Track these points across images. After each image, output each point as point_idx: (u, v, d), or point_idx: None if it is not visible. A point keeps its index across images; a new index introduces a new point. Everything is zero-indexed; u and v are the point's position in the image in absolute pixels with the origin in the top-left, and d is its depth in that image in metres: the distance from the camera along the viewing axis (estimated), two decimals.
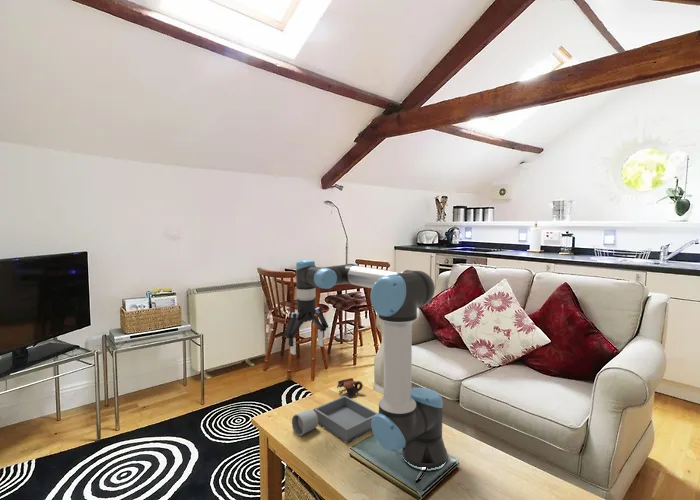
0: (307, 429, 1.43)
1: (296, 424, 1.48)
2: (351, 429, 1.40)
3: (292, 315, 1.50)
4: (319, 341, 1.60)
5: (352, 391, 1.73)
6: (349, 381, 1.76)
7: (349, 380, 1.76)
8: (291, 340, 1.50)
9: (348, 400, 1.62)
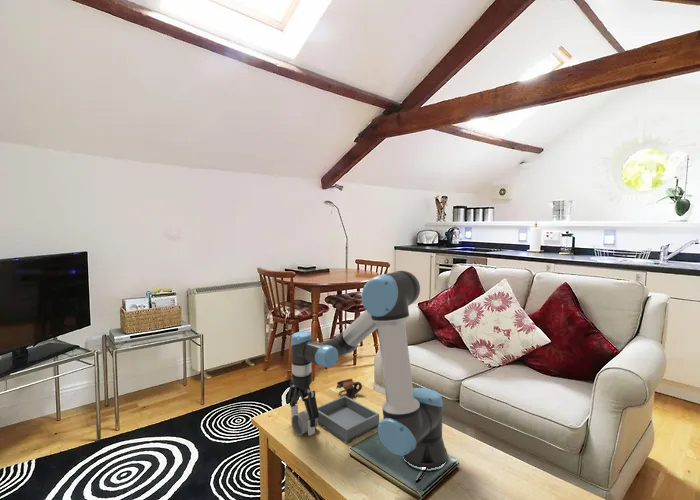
0: (306, 429, 1.43)
1: (296, 424, 1.48)
2: (351, 429, 1.40)
3: None
4: None
5: (351, 392, 1.73)
6: (349, 381, 1.75)
7: (348, 381, 1.75)
8: (291, 407, 1.52)
9: (348, 400, 1.62)
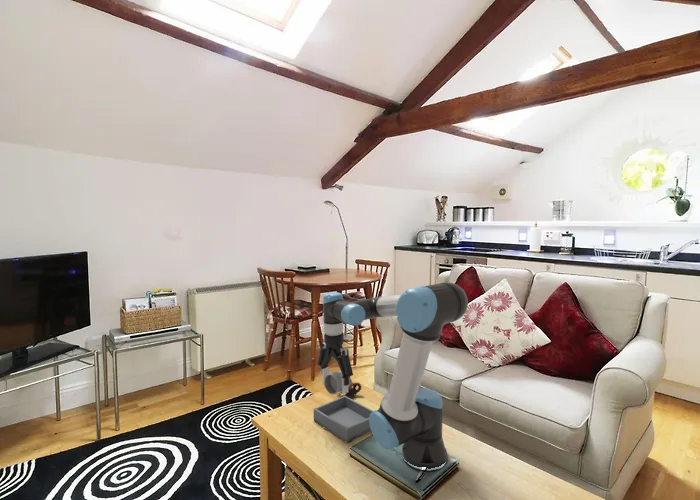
0: (340, 388, 1.44)
1: (328, 385, 1.48)
2: (351, 429, 1.40)
3: None
4: None
5: (351, 393, 1.72)
6: None
7: None
8: None
9: (348, 400, 1.62)
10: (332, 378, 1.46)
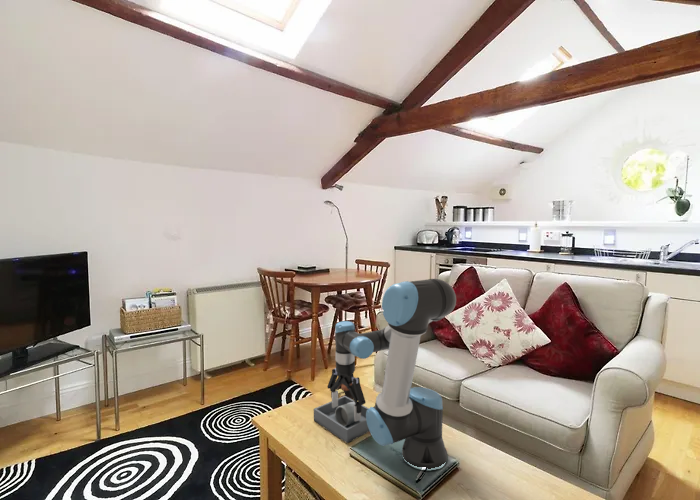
0: (351, 421, 1.47)
1: (339, 416, 1.51)
2: (351, 429, 1.40)
3: None
4: None
5: (350, 394, 1.71)
6: None
7: None
8: (331, 392, 1.56)
9: (348, 400, 1.62)
10: (343, 410, 1.49)
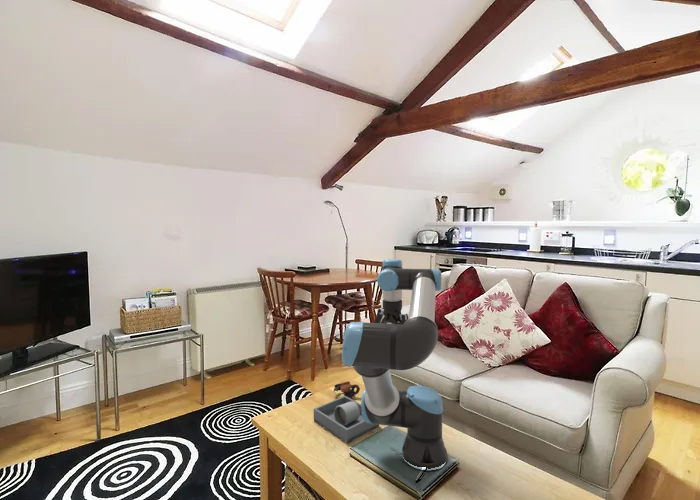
0: (350, 420, 1.47)
1: (338, 416, 1.52)
2: (351, 429, 1.40)
3: None
4: None
5: (349, 395, 1.70)
6: (346, 384, 1.72)
7: (346, 383, 1.72)
8: None
9: (348, 400, 1.62)
10: (342, 410, 1.49)
